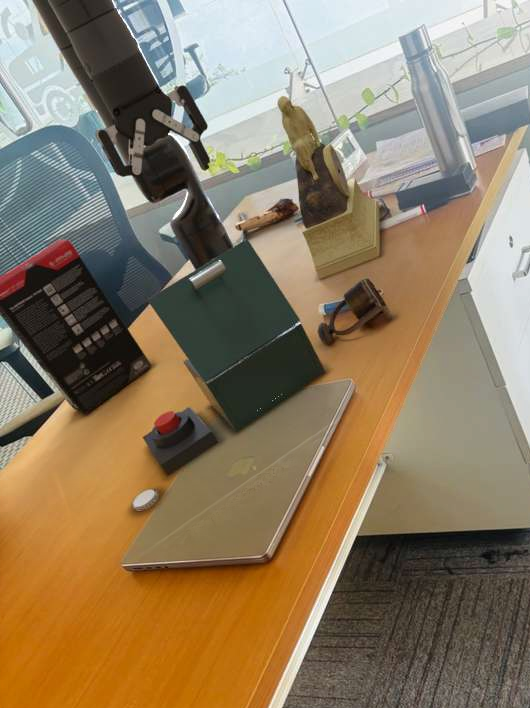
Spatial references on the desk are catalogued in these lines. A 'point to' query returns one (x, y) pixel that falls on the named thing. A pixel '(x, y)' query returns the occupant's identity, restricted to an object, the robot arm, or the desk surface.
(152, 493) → the bottle cap
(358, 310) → the brown handled cylinder
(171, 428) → the button
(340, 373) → the desk surface
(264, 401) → the dark green open box
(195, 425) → the switch block
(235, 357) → the lid
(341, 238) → the decorative clock
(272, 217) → the bone fish hook
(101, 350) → the graphics card box
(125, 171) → the robot arm
